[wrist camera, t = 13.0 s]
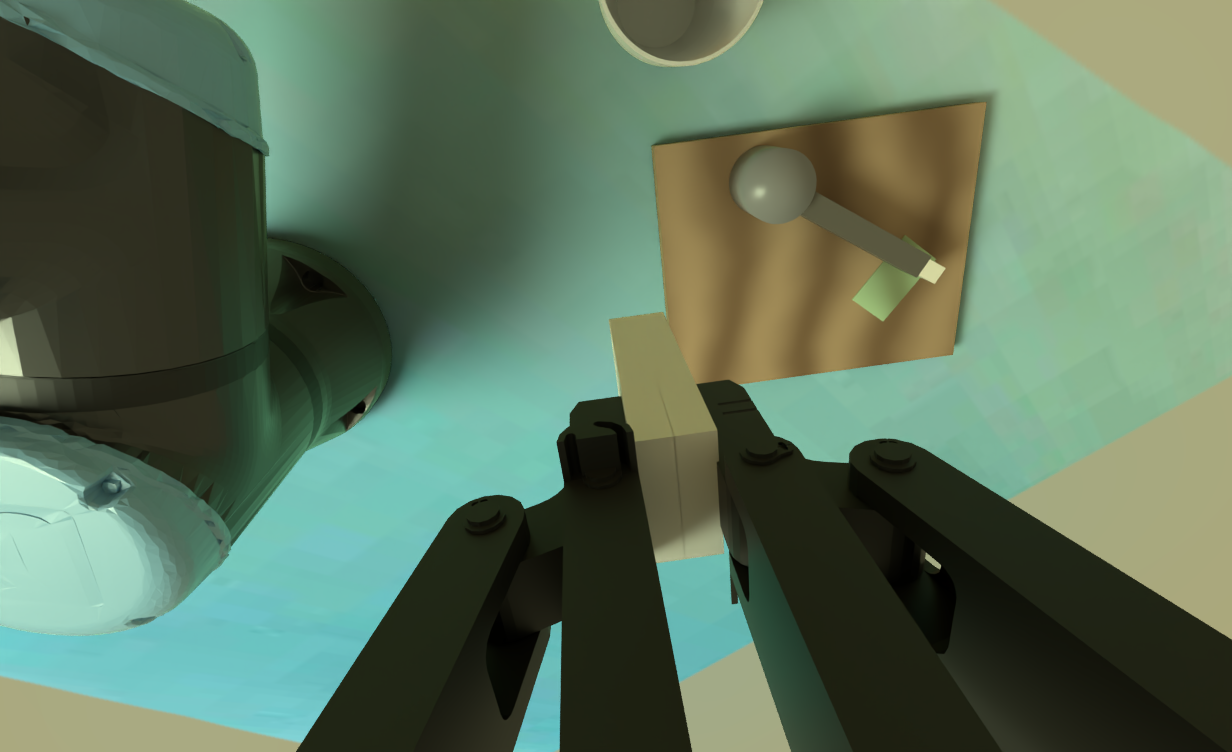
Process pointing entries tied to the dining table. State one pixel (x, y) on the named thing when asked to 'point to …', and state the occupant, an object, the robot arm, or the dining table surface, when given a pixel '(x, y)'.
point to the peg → (815, 207)
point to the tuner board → (818, 248)
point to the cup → (678, 28)
